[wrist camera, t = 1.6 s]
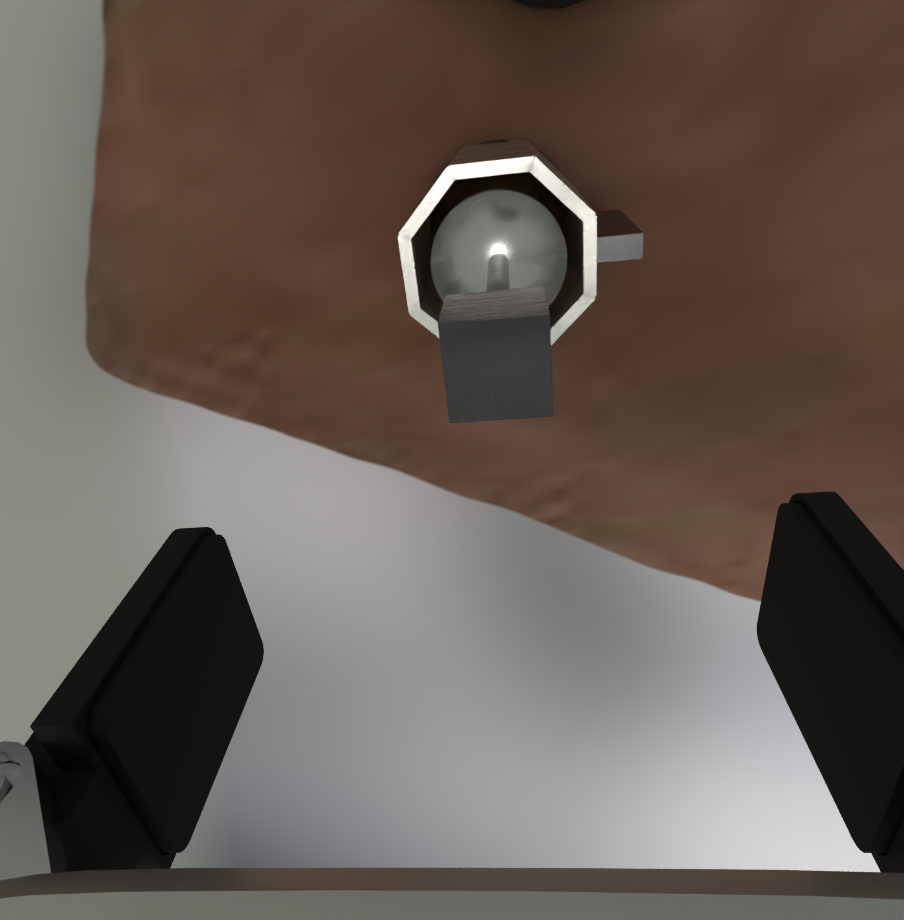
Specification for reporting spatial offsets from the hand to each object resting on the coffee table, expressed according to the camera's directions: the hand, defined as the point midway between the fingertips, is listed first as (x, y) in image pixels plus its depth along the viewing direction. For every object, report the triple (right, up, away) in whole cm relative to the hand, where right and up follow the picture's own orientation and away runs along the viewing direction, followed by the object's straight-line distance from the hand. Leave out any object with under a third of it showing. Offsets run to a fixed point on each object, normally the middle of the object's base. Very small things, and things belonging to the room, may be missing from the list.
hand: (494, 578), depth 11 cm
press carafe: (+3, +17, +29) cm, 34 cm away
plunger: (+2, +12, +20) cm, 24 cm away
